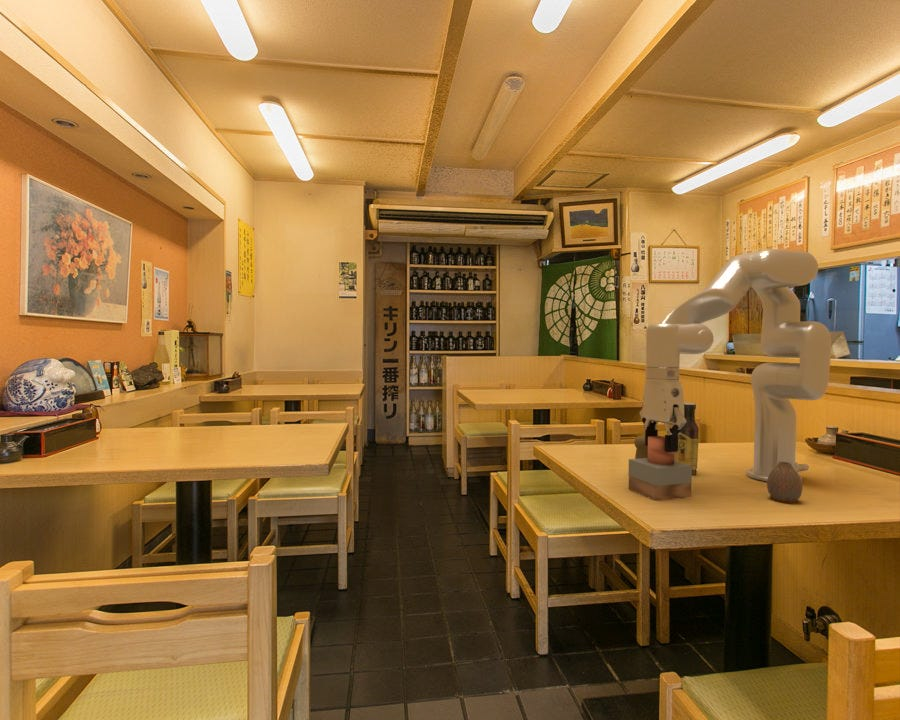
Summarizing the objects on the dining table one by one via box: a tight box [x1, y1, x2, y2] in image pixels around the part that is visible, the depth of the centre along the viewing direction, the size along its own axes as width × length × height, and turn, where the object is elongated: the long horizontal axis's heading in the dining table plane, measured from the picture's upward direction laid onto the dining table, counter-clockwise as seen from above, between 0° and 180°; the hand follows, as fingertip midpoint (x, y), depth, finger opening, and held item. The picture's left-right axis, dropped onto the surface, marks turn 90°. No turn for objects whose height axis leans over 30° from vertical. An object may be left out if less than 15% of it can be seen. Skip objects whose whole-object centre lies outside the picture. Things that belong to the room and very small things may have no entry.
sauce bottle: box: [674, 402, 700, 476], centre depth 141 cm, size 7×6×20 cm
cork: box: [634, 435, 648, 459], centre depth 137 cm, size 6×6×11 cm
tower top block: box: [627, 458, 693, 486], centre depth 121 cm, size 10×10×4 cm
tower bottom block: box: [628, 475, 692, 501], centre depth 121 cm, size 10×10×4 cm
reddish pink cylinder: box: [647, 435, 675, 465], centre depth 121 cm, size 6×6×6 cm
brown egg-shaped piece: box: [766, 462, 804, 503], centre depth 116 cm, size 7×7×9 cm
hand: (660, 447), depth 121 cm, fingers open, 6 cm apart
